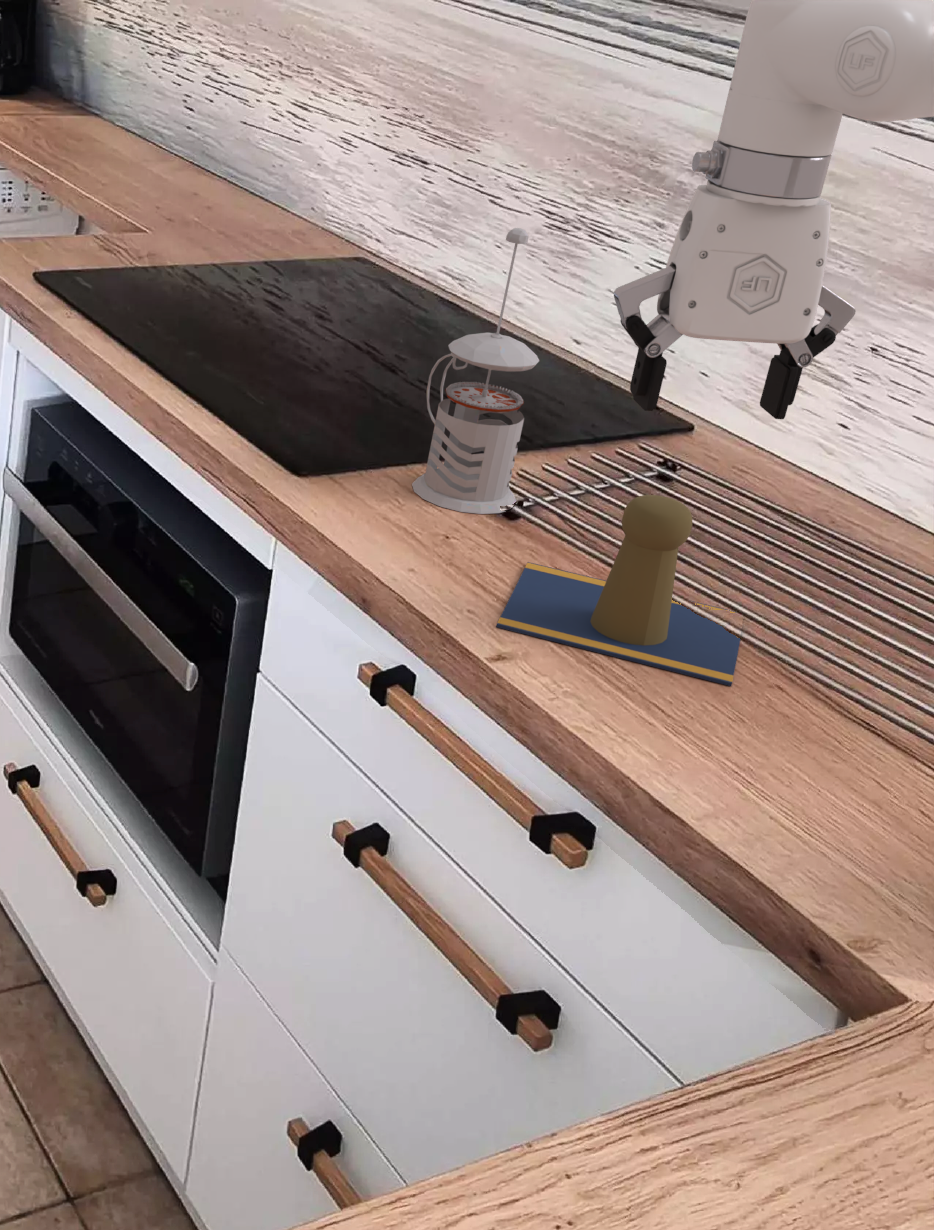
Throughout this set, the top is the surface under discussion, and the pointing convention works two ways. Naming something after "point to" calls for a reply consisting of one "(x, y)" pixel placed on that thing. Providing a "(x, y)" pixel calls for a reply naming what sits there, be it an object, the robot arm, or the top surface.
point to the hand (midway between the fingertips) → (707, 409)
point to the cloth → (563, 615)
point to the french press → (477, 423)
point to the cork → (643, 572)
